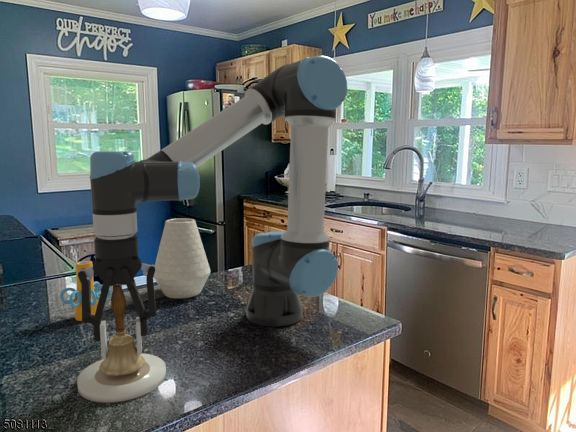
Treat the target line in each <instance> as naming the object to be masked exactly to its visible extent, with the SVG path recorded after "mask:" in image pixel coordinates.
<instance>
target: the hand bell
mask: <svg viewBox="0 0 576 432" xmlns="http://www.w3.org/2000/svg"><path fill="white" fill-rule="evenodd" d="M112 288H113V289H112V291H111V295H110V296H111V297H110V304H111V305H110V306H111V310H112V313H113V316H114V320H115V336H113V337H111V338H110V339H109V341H108V346H107V357H106V359H105V360H103V362H102V363H101V364H100V367H99V370H100V372H101V373H103V374H105V375H109V376H121V375H126V374H130V373H133V372H135V371H137V370H139V369H140V368H142V367H143V365H144V364H145V359H144V357H143V356H142V355H137V346H136V344H135V339H134V336H132V335H131V334H127V332H126V327H125V326H126V325H125V312H126V305H127V304H126V302H127V301H126V295H125V294H124V291H123V289H122V285H119V284H118V285H115V286H113V287H112Z"/></svg>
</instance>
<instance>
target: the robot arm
mask: <svg viewBox="0 0 576 432" xmlns="http://www.w3.org/2000/svg"><path fill="white" fill-rule="evenodd" d="M347 93H348V81H347V76H346V74H345V72H344V70H343V69H342V68H341V66H340V65H339V63H338V62H337V61H336V60H334V59H333V58H331V57H329V56H326V55H315V56H307V57H305V58H303V59H300V60H297V61H295V62H291V63H288V64H283V65H282V66H279V67H277V68H276V69H274V70H273V71H272V72H270V73H268V75H266V76H265V77H264V78H262V79H260V81H258V82H257V83H255V84H254V85H252V86H250V87H249V88H248V89H247V90H245V91H244V96H243V97H242V98H241V99H239V100H237V101H236V102H233V103H232V104H231V105H229V106H227V107H226V108H224V109H223V110H221V111H220V112H218V113H216V114H215V115H213V116H212V117H210V118H209V119H207V120H206V121H203V123H201V124H199V125H198V126H196V127H195V128H193V129H192V130H190V131H188V132H187V133H185V134H184V135H182V136H180V137H179V138H177V139H176V140H175V141H173V142H171V143H170V144H168V145H167V146H165V147H164V148H162V149H160V150H159V151H158V152H156V153H154V154H153V155H151V156H150V157H147V158H146V159H142V160H139V161H136V159H135V156H134V153H133V152H132V151H111V150H110V151H107V150H106V151H105V150H104V151H103V150H102V151H100V150H99V151H98V150H97V151H94V152H93V153H91V155H90V157H89V158H90V159H89V161H90V167H89V168H90V169H89V172H90V173H89V174H90V176H89V179H90V194H91V195H90V196H91V206H92V225H93V226H92V228H93V235H95V236H96V237H95V238H93V239H94V240H93V244H94V257H95V259H94V263H93V267H90V268H87V269H85V268H82V269H81V270H80V271H79V273H78V277H79V280H80V282H81V284H82V321H81V322H82V323H83V324H91V325H92V327H93V339H94V341H95V342H100V355H101V360H102V359H106V357H107V353H108V337H107V321H106V320H102V318H103V314H104V310H105V307H106V303H107V300H108V298H107V295H108V291H109V288H110V289H111V287H114V286H115V285H120V286H126V288H127V290H128V292H129V294H130V297H131V300H132V302H133V305H134V307H135V311H136V313H137V315H138V316H137V317H135V318H136V319H135V330H136V331H135V333H136V350H137V355H141V354H142V353H143V345H142V344H143V341H142V337H145V336H146V337H147V334H148V320H149V318H151V317H152V318H154V317H155V316H156V315H157V308H156V307H157V306H156V305H157V304H156V297H155V295H156V294H155V285H154V273H155V264H154V263H150V264H149V263H144V262H142V261H141V259H140V256H139V240H138V239H139V238H138V235H136V233H137V232H138V219H137V218H138V216H137V213H138V212H137V203H146V202H161V201H163V202H165V201H168V202H169V201H179V202H181V201H185V200H193V199H195V198H197V196H198V195H199V192H200V187H201V175H200V172H199V169H198V167H200V166H201V165H203V164H204V163H206V162H207V161H209V160H210V159H212V158H213V157H215V156H216V155H218V154H219V153H220V152H222V151H223V150H225V149H227V147H229V146H231V145H233V144H234V143H235V142H236V141H238V140H239V139H241V138H243V137H244V136H245V135H247V134H249V133H250V132H252V131H253V130H254V129H256V128H258V126H260V125H262V124H263V125H269V124H270V123H272V122H274V121H275V120H278V119H279V118H282V117H284V120H285V121H286V122H287V124H289V126H290V147H289V172H288V173H289V175H288V196H287V197H288V201H287V202H288V203H287V224H286V225H287V226H286V230H283V231H279V230H278V231H266V232H261V233H260V232H259V233H257V234H256V233H255V235H254V236H253V238H252V244H251V245H252V246H251V250H252V255H251V256H252V290H251V294H250V296H249V299H248V303H247V306H246V312H245V313H246V319H247V320H248V322H251V323H252V324H255V325H258V326H264V327H276V328H277V327H284V326H285V327H286V326H290V325H294V324H296V323H298V322H300V321H301V320H302V319H303V305H302V303H301V300H300V296H304V297H306V298H315V297H316V298H317V297H320V296H322V295H323V294H325V293H326V292H327V291H328V289H330V287H332V286H333V285H334V283H335V281H336V279H337V276H338V271H339V263H338V258H337V257H335V255H334V253H333V252H331V251H330V241H331V240H330V237H329V236H328V235H327V233H326V232H325V231H324V229H325V209H326V208H325V206H326V205H325V204H326V189H327V188H326V186H327V184H326V183H327V166H328V165H327V164H328V163H327V162H328V142H329V141H328V140H329V139H328V138H329V128H330V126H332V124H334V123H335V122H336V114H337V109H339V107H340V106H341V105H342V103H343V102H344V101H345V99H346V97H347ZM140 270H142V274H143V276H144V277H146V279H145V280H146V292H147V301H148V309H146V308H145V305H144V303H143V300H142V298H141V295H140V292H139V289H138V287H137V284H136V280H135V277H136V276H137V274H138V273H139V272H140ZM94 273H95V274H96V275H97V277H98V278H100V280H101V281H102V285H103V286H102V288H101V291H100V294H99V300H98V305H97V309H96V313H95V315H91V281H90V280H91V279H92V277H93V278H94ZM299 295H300V296H299Z"/></svg>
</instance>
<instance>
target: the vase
mask: <svg viewBox="0 0 576 432" xmlns="http://www.w3.org/2000/svg"><path fill="white" fill-rule="evenodd" d="M160 238H161V239H160V242H159V247H158V251H157V254H156V259H155V264H154V265H155V273H154V277H153V280H155V282H156V284H157V285H158V286H159V289H160V290H161V292H162V293H163V295H164V296H165V297H167V298H169V299H175V300H176V299H177V300H179V299H180V300H182V299H190V298H193V297H196V296H198V295H200V294H201V292H202V290H203V288H204V286H205V285H206V283H207V280H208V279H209V276H210V275H211V272H212V271H211V268H210V264H209V262H208V258H207V255H206V251H205V249H204V244H203V242H202V238H201V234H200V232H199V228H198V225H197V222H196V219H194V218H186V217H185V218H171V219H167V220H165V222H164V227H163V231H162V236H161V237H160Z"/></svg>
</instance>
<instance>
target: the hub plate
mask: <svg viewBox="0 0 576 432" xmlns="http://www.w3.org/2000/svg"><path fill="white" fill-rule="evenodd" d="M141 355H142V356H143V357H144V359H145V364H144V365H143V367H142V368H140V369H139V370H137V371H135V372H133V373H130V374H126V375H121V376H109V375H105V374H103V373H101V372H100V370H99V367H100V364H101V363H102V362H103V360H105V359H102V358H101V359H100V360H97V361H95V362H93V363H92V364H90V365H88V366H87V367H85V368H84V369H83V370H82V371H81V372H80V373H79V374H78V376H77V380H76V382H77V383H76V384H77V392H78V394H79V395H80V396H81V397H82V398H83V399H85V400H88V401H90V402H95V403H103V404H104V403H106V404H107V403H119V402H125V401H131V400H134V399H137V398H140V397H142V396H144V395H147V394H149V393H151V392H153V391H155V390H156V389H157V388H159V386H161V385H162V384H163V383H164V381H165V379H166V378H167V377H166V376H167V366H166V362H165V361H164V360H163V359H162V358H160V357H159V356H156V355H154V354H151V353H150V354H149V353H143V352H142V354H141Z"/></svg>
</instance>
